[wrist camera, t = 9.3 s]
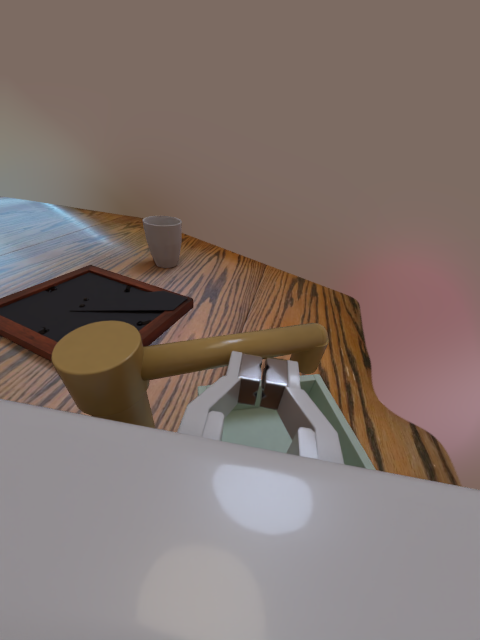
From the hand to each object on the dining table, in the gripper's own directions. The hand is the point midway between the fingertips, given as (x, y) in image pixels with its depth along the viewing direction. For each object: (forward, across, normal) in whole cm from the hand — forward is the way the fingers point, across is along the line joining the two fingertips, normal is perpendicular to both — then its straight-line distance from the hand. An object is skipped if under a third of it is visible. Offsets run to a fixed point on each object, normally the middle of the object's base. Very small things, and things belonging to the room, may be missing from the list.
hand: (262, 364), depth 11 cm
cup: (+42, +24, +16) cm, 51 cm away
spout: (0, +2, +3) cm, 3 cm away
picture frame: (+20, +27, +16) cm, 37 cm away
